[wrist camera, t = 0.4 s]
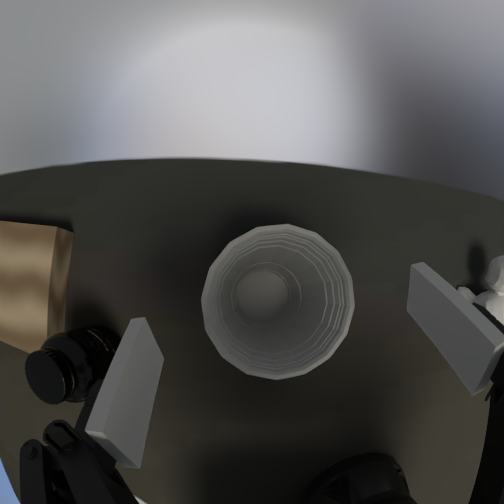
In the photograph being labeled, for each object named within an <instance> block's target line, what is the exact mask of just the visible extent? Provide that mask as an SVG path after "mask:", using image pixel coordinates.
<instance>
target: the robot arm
mask: <svg viewBox="0 0 504 504" xmlns="http://www.w3.org/2000/svg"><path fill="white" fill-rule="evenodd" d="M406 310H407V312H408V313H409V314H410V315H411V316H412V318H413V319H414V320H415V321H416V322H417V324H418V325H419V326H420V327H421V329H422V330H423V331H424V332H425V333H426V335H427V336H428V337H429V338H430V340H431V341H432V342H433V344H434V345H435V346H436V347H437V349H438V350H439V351H440V353H441V354H442V355H443V356H444V358H445V359H446V360H447V362H448V363H449V364H450V366H451V367H452V368H453V370H454V371H455V372H456V374H457V375H458V377H459V378H460V379H461V381H462V382H463V384H464V385H465V386H466V388H467V389H468V391H469V392H470V393H471V395H472V396H474V395H475V394H477V393H479V392H480V391H482V390H484V389H485V388H486V386H487V384H488V382H489V380H490V379H491V381H492V382H493V385H492V387H491V389H490V391H489V392H488V394H487V396H486V398H485V401H487V400H488V398H489V397H490V395H491V398H490V408H489V416H488V424H487V431H486V437H485V442H484V447H483V452H482V457H481V462H480V466H479V470H478V474H477V478H476V481H475V485H474V488H473V491H472V495H471V498H470V501H469V504H504V325H503V324H502V323H501V322H500V321H499V320H496V318H495V317H494V316H493V315H491V313H490V312H489V311H488V310H487V309H486V308H485V307H483V306H481V305H479V304H477V303H475V302H474V303H472V304H471V303H470V302H469V301H468V300H467V299H466V298H465V297H464V296H463V295H461V294H460V293H459V292H458V291H457V290H456V289H455V288H453V287H452V286H451V285H450V284H449V283H448V282H447V281H445V280H444V279H443V278H442V277H441V276H439V275H438V274H437V273H436V272H435V271H433V270H432V269H431V268H430V267H429V266H427V265H426V264H425V263H424V262H420V263H417V264H413V265H411V271H410V283H409V292H408V301H407V309H406ZM163 362H164V357H163V355H162V353H161V351H160V349H159V347H158V345H157V343H156V340H155V338H154V336H153V334H152V332H151V330H150V327H149V325H148V323H147V321H146V318H145V317H142V318H135V319H131V321H130V323H129V325H128V327H127V329H126V331H125V333H124V336H123V338H122V340H121V342H120V344H119V347H118V349H117V351H116V353H115V356H114V358H113V360H112V362H111V365H110V367H109V369H108V372H107V374H106V377H105V379H104V380H97V382H96V383H95V384H94V385H93V386H92V387H91V389H90V391H89V394H88V396H87V399H86V401H85V403H84V406H83V408H82V410H81V413H80V415H79V418H78V420H77V423H76V425H75V428H74V429H73V428H72V427H71V426H70V425H69V424H68V422H66V421H64V420H55V421H53V422H51V423H50V424H49V425H48V426H47V427H46V428H45V430H44V433H43V441H45V442H46V443H47V444H48V445H49V446H44V445H42V444H41V443H40V442H39V441H38V440H36V439H30V440H28V441H26V442H25V443H24V444H23V446H22V448H21V450H20V491H21V504H139V502H138V501H137V500H136V498H135V497H134V495H133V494H132V492H131V491H130V489H129V488H128V486H127V485H126V483H125V481H124V480H123V478H122V477H121V475H120V473H119V472H118V470H117V469H116V468H115V463H116V461H117V462H118V463H119V464H120V465H122V466H123V467H126V468H136V469H140V467H141V462H142V456H143V451H144V446H145V441H146V436H147V431H148V426H149V422H150V417H151V413H152V408H153V404H154V399H155V395H156V391H157V386H158V382H159V378H160V374H161V370H162V366H163ZM52 485H53V486H52ZM301 504H417V503H416V502H415V501H414V500H413V498H412V497H411V496H410V493H409V489H408V485H407V482H406V479H405V475H404V472H403V470H402V468H401V467H400V466H399V465H398V464H397V463H396V462H395V461H394V460H393V459H392V458H391V457H389V456H387V455H384V454H365V455H360V456H356V457H353V458H350V459H347V460H345V461H343V462H340V463H338V464H336V465H335V466H333V467H331V468H330V469H328V470H326V471H325V472H324V473H322V474H321V475H320V476H319V477H317V478H316V479H315V480H314V481H313V482H312V483H311V484H310V486H309V487H308V488H307V490H306V491H305V493H304V495H303V498H302V502H301Z"/></svg>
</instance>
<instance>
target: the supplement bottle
mask: <svg viewBox="0 0 504 504" xmlns="http://www.w3.org/2000/svg"><path fill="white" fill-rule="evenodd" d="M120 342H121V340H120V339H119V338H118V336H117V335H116V334H115V333H114V332H113V331H111V330H110V329H108V328H106V327H103V326H99V325H93V326H88V327H83V328H79V329H74V330H70V331H65V332H61V333H57V334H54V335H51V336H49V337H48V338H47V339H46V340H45V341H44V342H43V344H42V346H41V348H40V349H39V350H36V351H33V352H32V353H30V355H29V356H28V357H27V359H26V363H25V374H26V378H27V380H28V384H29V385H30V388H31V389H32V390H33V392H34V393H35V394H36V396H37V397H39V398H40V400H42V401H44V402H45V403H48V404H52V405H54V404H59V403H61V402H63V401H68V402H73V403H78V402H83V401H85V400H86V399H87V396H88V394H89V391H90V389H91V387H92V386H93V385H94V384H95V383H96V382H97V380H104V379H105V377H106V374H107V372H108V369H109V367H110V365H111V362H112V360H113V358H114V356H115V353H116V351H117V349H118V347H119V344H120Z"/></svg>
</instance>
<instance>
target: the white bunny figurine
mask: <svg viewBox="0 0 504 504" xmlns="http://www.w3.org/2000/svg"><path fill="white" fill-rule="evenodd" d="M485 281H486V282H487V284H488V285H489V286H490V287H491V288H492V289H493V291H485V292H483V293H481V294H479V295H478V296H475V295H474V294H473V293H472V292H471V291H470V290H469V289H468V288H466V287H458V289H457V291H458V292H459V293H460V294H461V295H463V296H464V297H465V298H466V299H467V300H468V301H469V302H470V303H471V304H472V303H474V302H475V303H477V304H479V305H481V306H483V307H485V308H486V309H487V310H488V311H489V312H490V313H491V315H493V316H494V317H495V318H496V320H499V321H500V322H501V323H502V324H503V325H504V256H499V257H496V258H495V259H493V260H492V261H491V263H490V265H489V268H488V273H487V276H486V279H485Z"/></svg>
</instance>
